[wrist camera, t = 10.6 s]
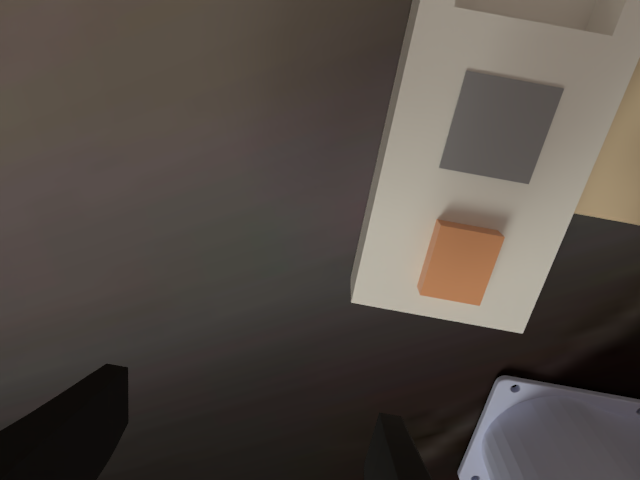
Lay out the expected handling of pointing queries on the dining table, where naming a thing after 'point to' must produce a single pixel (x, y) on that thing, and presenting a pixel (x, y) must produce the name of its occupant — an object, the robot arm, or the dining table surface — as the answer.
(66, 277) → the dining table surface
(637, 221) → the cork mat
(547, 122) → the white slotted tray
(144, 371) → the dining table surface
